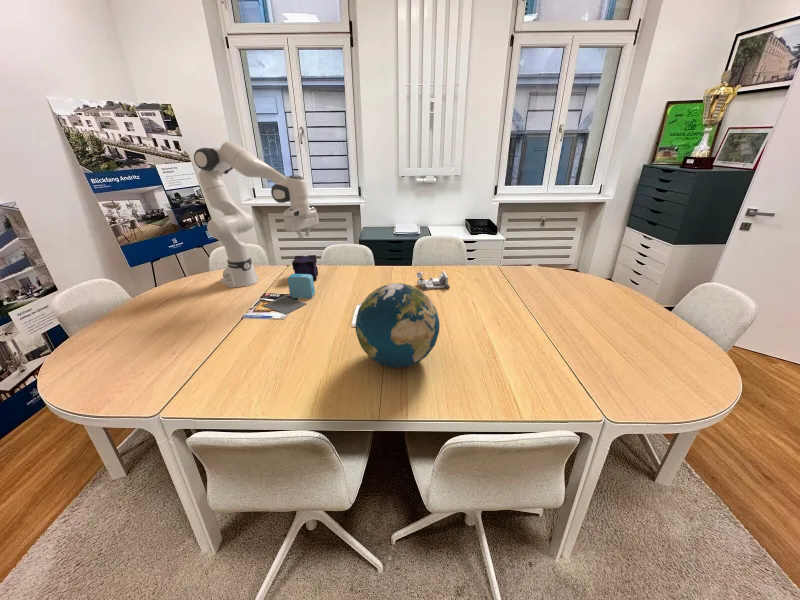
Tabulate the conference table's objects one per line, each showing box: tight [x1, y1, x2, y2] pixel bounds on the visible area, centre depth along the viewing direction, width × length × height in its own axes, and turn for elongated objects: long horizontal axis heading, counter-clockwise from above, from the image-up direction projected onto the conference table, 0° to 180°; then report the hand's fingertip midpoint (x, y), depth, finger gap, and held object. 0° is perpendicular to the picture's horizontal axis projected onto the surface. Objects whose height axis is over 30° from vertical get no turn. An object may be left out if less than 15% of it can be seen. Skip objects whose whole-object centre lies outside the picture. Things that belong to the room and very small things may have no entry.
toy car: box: [415, 270, 450, 291], centre depth 192 cm, size 18×10×12 cm
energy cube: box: [291, 254, 319, 282], centre depth 204 cm, size 12×12×12 cm
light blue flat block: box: [287, 273, 316, 300], centre depth 180 cm, size 12×4×12 cm, turn 83°
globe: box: [355, 282, 441, 369], centre depth 124 cm, size 30×30×30 cm
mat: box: [262, 295, 307, 315], centre depth 174 cm, size 17×13×1 cm
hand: (304, 237), depth 180 cm, fingers open, 3 cm apart
